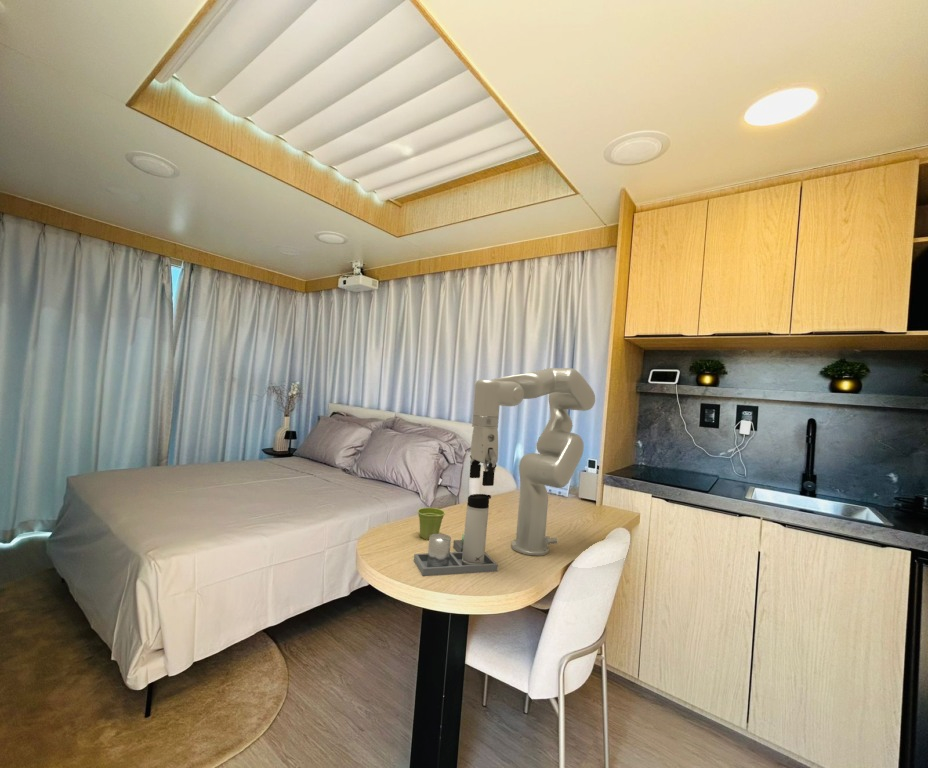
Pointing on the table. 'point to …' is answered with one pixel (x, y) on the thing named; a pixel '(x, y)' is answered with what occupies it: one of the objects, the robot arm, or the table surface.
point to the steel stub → (438, 550)
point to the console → (458, 545)
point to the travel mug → (475, 529)
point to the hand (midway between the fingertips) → (481, 481)
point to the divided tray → (454, 565)
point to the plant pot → (430, 521)
